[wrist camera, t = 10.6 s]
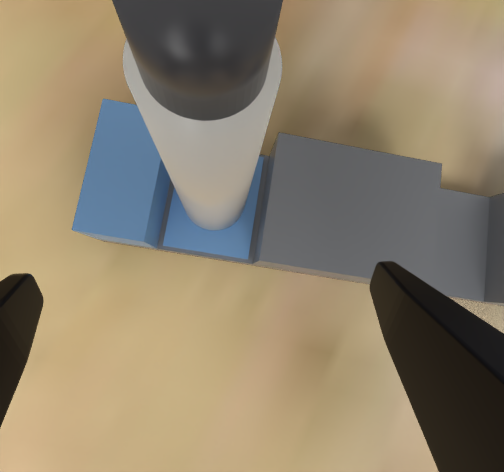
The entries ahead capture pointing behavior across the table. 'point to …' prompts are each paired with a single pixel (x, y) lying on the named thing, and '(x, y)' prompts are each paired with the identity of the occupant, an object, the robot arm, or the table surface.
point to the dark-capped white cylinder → (204, 93)
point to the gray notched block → (301, 211)
